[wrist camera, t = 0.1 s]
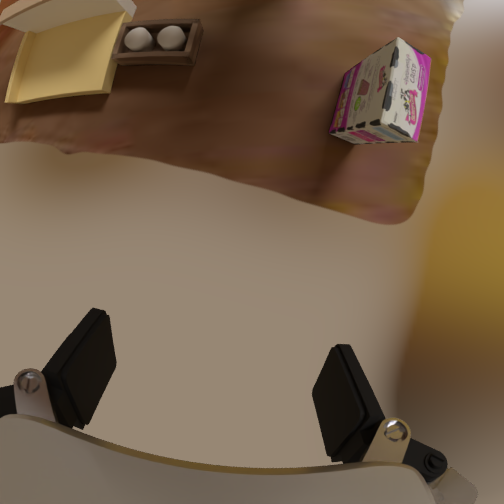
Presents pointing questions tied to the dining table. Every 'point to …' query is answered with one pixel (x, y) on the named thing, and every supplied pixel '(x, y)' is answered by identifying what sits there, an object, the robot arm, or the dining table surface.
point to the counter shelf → (64, 47)
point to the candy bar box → (383, 96)
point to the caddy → (158, 42)
